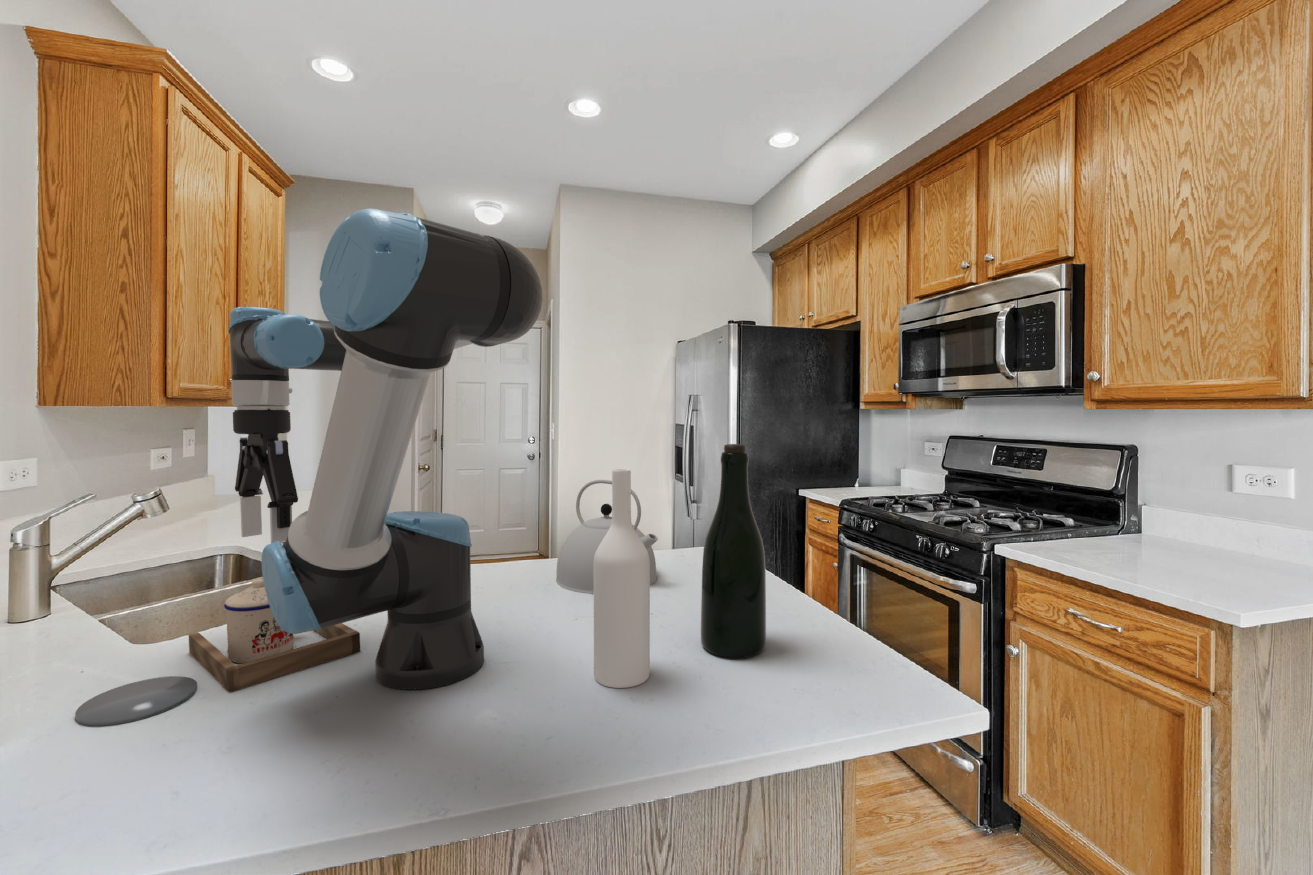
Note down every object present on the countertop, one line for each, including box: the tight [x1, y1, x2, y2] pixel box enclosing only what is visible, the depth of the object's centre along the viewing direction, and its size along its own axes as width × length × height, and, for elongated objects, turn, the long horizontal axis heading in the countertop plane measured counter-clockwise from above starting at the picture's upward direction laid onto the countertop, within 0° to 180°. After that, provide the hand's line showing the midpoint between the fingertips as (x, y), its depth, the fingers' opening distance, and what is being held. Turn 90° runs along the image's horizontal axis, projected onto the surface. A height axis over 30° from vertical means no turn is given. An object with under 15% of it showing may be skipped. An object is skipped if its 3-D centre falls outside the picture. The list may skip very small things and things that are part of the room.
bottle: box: [593, 468, 651, 689], centre depth 84 cm, size 8×8×30 cm
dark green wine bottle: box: [700, 443, 767, 659], centre depth 94 cm, size 10×10×33 cm
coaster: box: [74, 675, 198, 727], centre depth 77 cm, size 12×12×1 cm
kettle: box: [555, 479, 659, 595], centre depth 132 cm, size 25×23×22 cm
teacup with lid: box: [223, 578, 295, 664], centre depth 94 cm, size 12×9×12 cm
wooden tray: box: [188, 623, 361, 693], centre depth 93 cm, size 20×17×3 cm
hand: (266, 542), depth 94 cm, fingers open, 13 cm apart
